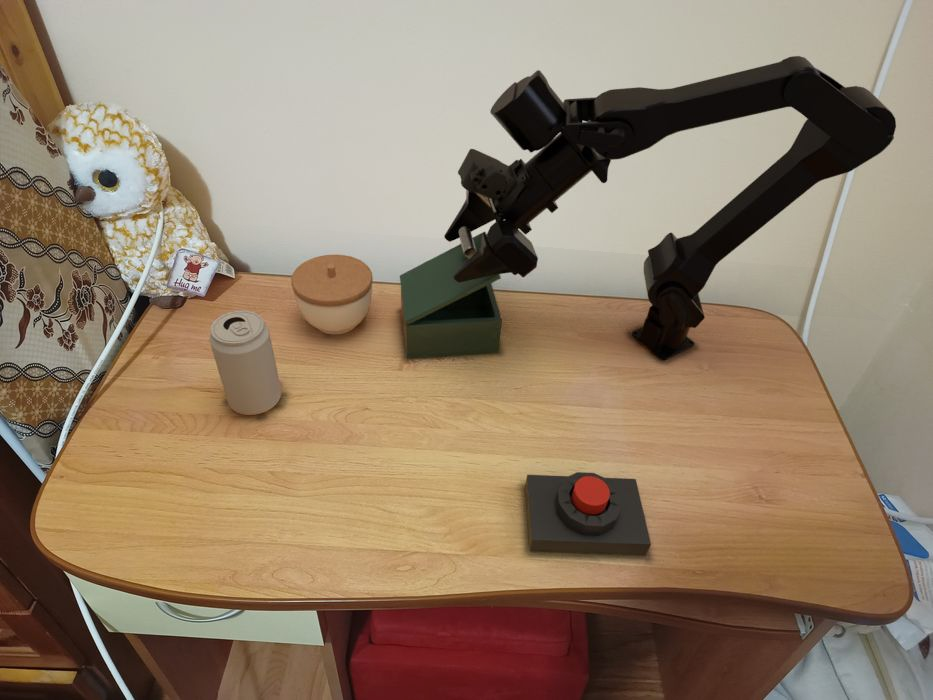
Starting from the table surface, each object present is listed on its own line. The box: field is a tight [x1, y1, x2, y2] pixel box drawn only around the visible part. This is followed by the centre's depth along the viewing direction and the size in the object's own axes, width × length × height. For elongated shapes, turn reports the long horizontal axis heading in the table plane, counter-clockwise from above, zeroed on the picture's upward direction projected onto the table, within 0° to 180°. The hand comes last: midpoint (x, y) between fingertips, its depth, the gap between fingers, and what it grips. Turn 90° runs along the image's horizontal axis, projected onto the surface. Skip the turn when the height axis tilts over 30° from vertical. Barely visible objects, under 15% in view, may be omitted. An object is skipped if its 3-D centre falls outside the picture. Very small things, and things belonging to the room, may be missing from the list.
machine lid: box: [399, 227, 501, 325], centre depth 81 cm, size 13×10×4 cm
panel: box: [524, 471, 652, 557], centre depth 66 cm, size 12×8×4 cm, turn 89°
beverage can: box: [209, 309, 282, 416], centre depth 73 cm, size 6×6×12 cm
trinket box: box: [290, 254, 374, 335], centre depth 86 cm, size 11×11×9 cm
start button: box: [572, 476, 610, 515], centre depth 64 cm, size 4×4×2 cm
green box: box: [400, 283, 503, 360], centre depth 87 cm, size 13×10×6 cm
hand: (451, 258), depth 80 cm, fingers open, 9 cm apart
